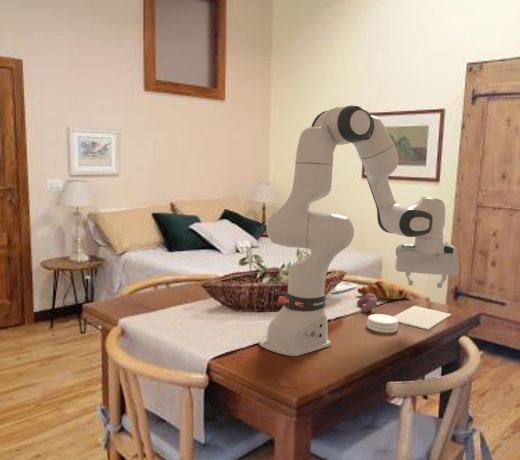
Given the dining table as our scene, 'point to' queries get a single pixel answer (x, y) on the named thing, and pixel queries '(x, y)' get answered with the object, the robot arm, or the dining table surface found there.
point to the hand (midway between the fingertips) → (424, 286)
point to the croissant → (384, 291)
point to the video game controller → (367, 302)
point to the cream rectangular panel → (421, 317)
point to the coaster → (382, 323)
